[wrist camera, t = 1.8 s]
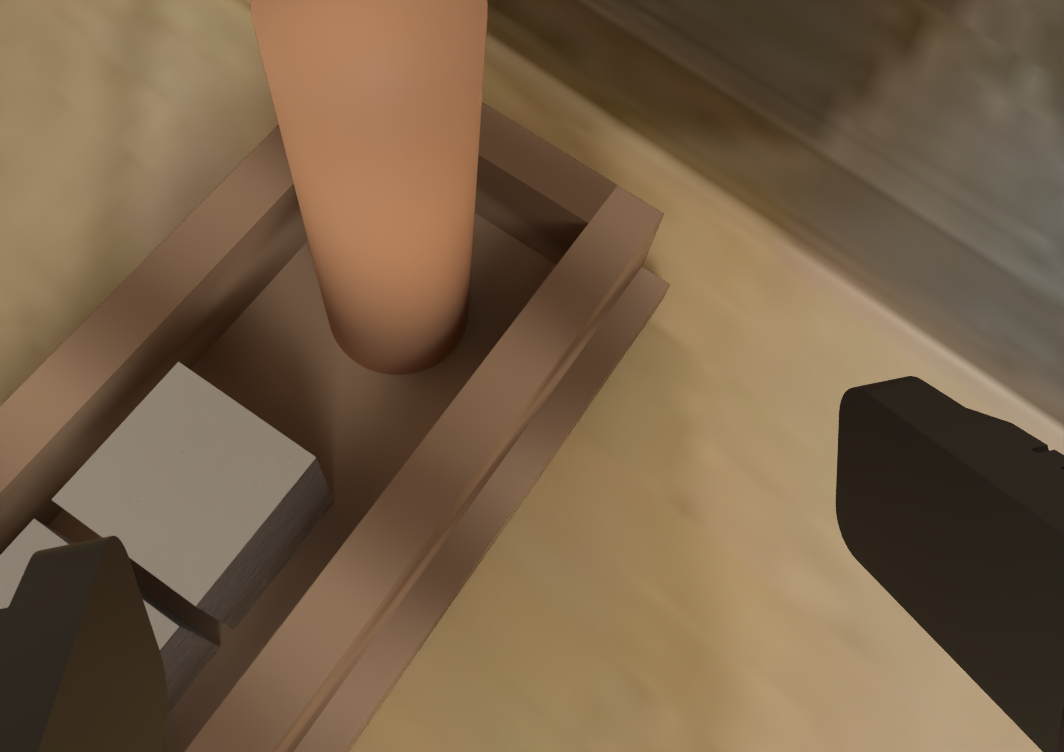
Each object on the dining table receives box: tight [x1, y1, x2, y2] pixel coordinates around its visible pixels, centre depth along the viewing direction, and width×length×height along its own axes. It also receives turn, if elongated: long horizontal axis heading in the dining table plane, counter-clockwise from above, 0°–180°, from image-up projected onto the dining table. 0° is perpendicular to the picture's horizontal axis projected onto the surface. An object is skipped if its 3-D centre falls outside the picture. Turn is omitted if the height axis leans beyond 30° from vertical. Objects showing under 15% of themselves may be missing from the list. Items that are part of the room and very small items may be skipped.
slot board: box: [0, 103, 670, 752], centre depth 25 cm, size 20×12×4 cm, turn 146°
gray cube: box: [0, 519, 220, 715], centre depth 21 cm, size 4×4×4 cm
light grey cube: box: [52, 362, 334, 630], centre depth 23 cm, size 4×4×4 cm
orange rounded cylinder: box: [251, 0, 488, 375], centre depth 22 cm, size 4×4×12 cm
